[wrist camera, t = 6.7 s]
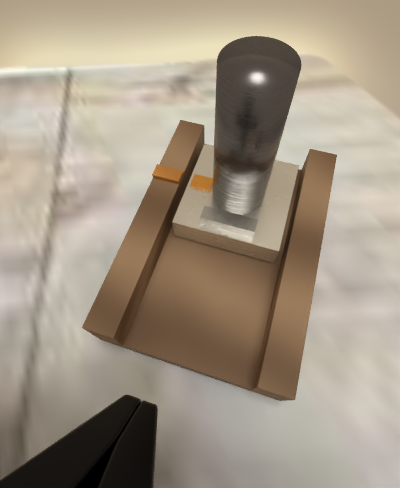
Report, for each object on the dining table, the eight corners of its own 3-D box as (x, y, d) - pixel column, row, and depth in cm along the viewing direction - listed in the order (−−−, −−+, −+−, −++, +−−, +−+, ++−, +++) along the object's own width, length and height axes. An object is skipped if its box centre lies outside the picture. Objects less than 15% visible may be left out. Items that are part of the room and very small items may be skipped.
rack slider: (273, 263, 18) (332, 140, 10) (174, 235, 19) (150, 100, 11) (292, 182, 21) (353, 27, 12) (204, 160, 22) (204, 3, 13)
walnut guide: (279, 400, 16) (296, 399, 13) (100, 339, 18) (79, 326, 15) (320, 185, 22) (338, 151, 19) (183, 152, 24) (180, 116, 21)
